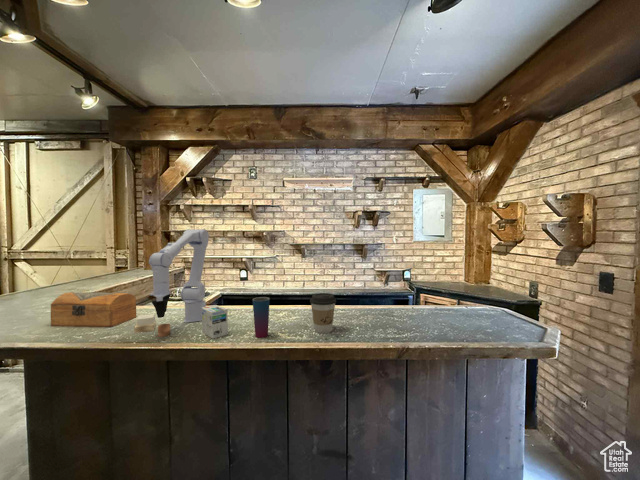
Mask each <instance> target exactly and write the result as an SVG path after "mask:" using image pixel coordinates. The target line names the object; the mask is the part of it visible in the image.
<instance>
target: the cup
mask: <svg viewBox="0 0 640 480" xmlns="http://www.w3.org/2000/svg"><path fill="white" fill-rule="evenodd" d="M270 301H271V299H270V297H267V296H259V297H255V298H252V311H253V322H254V324H253V325H254V326H253V327H254V336H255V338H257V339H263V338H267V337H268V336H269V321H270V320H269V318H270V317H269V316H270Z"/></svg>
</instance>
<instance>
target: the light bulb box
mask: <svg viewBox="0 0 640 480" xmlns="http://www.w3.org/2000/svg"><path fill="white" fill-rule="evenodd" d="M228 317H229V316H228V309H227V308H225V307H222V306H220V305H217V304H213V305H208V306H206V307H202V322H201V323H202V324H201V328H202V334H205V335H206V336H208V337H209V338H211V339H212V340H213V339H216V338H220V337H223V336H228V335H229V322H228V319H229V318H228Z"/></svg>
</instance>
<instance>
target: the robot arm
mask: <svg viewBox="0 0 640 480" xmlns="http://www.w3.org/2000/svg"><path fill="white" fill-rule="evenodd" d="M209 239H210V234H209V233H208V231H207V229H206V228H201V229H200V228H199V229H193V228H192V229H190V228H188V229H186V230H185V231H183V234H182V235H181V236H180V237H179V238H178V239H177V240H176V241H175V242H168V243H167V244H166V245H165V246H164V247H163V248H161V249H160V250H159V251H158V252H154V253H152V254H151V255H150V256H149V260H148V264H149V266H150V270H151V271H152V288H153V289H152V290H153V291H152V292H151V293H149V296H153V297H154V298H155V299H153V300H151V304H152V306H153V307H154V309H155V313H156V318H158V319H160V318H164V317H165V315H166V314H165V313H166V312H167V308H168V303H169V299H170V297H171V291H170V266H171V265H172V264H173V260H174V258H175V257H177V256H178V255H179V254H180V253H181V251H182V248H184V247H185V246H186V245H189V246H190V247H192V248H193V251H194V252H193V255H192V261H191V268H190V273H189V278H188V281H187V282H185V283H184V284H183V286H182V289H181V291H180V295H179V296H180V298H181V300H182V301H183V303H184V318H183V319H184V320H183V324H187V323H194V322H201V321H202V307H207V304H206V303H207V302H206V300H204V299H205V297H206V290H205V289H206V285H205V284H204V283H203V282H202V275H203V270H204V264H205V260H206V259H205V257H206V254H207V253H206V251H207V247H208V246H209V245H208V244H209Z"/></svg>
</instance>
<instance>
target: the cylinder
mask: <svg viewBox="0 0 640 480" xmlns="http://www.w3.org/2000/svg"><path fill="white" fill-rule="evenodd" d="M170 335H171V323H162V324H159V325H157V337H159V338H163V337H168V336H170Z"/></svg>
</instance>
